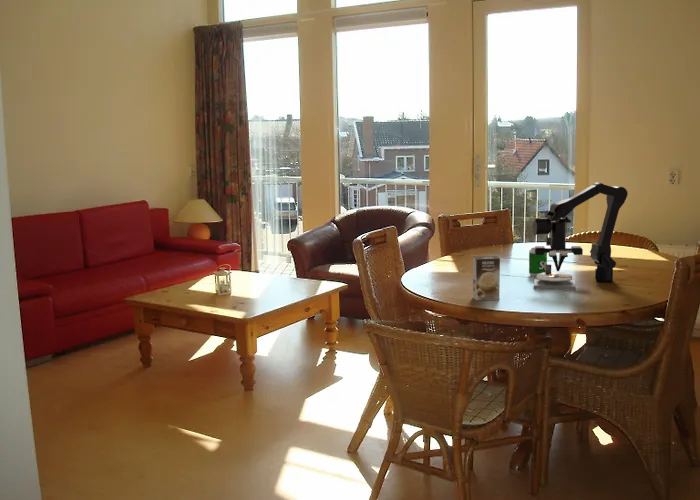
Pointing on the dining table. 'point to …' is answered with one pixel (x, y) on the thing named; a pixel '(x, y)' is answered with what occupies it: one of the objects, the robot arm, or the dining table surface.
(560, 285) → the wheel base
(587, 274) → the dining table surface
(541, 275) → the handwheel
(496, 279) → the coffee box
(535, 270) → the soda can
